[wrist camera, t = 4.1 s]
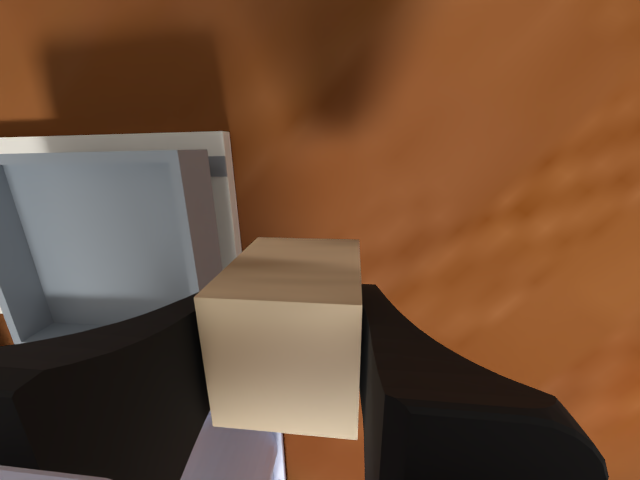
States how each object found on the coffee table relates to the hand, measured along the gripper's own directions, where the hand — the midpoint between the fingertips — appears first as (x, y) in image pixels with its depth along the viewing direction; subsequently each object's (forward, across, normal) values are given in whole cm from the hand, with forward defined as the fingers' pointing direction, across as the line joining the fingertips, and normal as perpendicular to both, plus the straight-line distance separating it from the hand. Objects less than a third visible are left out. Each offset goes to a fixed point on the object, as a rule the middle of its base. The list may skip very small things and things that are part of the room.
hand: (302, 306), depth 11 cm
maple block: (+2, 0, 0) cm, 2 cm away
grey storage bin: (+8, +12, 0) cm, 15 cm away
